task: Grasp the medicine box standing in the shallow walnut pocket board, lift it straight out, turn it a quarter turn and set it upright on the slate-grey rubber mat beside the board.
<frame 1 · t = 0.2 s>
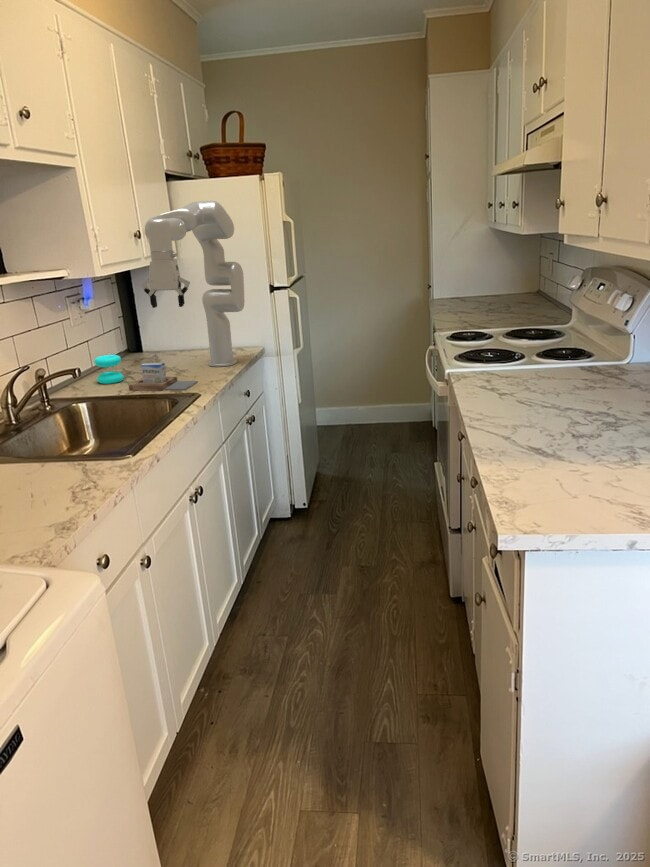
hand: (168, 306, 229), 31 cm above the countertop, fingers open, 9 cm apart
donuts: (111, 382, 258), on the countertop
medicine box: (155, 386, 248), resting in pocket board
pocket board: (153, 385, 247), on the countertop
slate mat: (181, 386, 245), on the countertop
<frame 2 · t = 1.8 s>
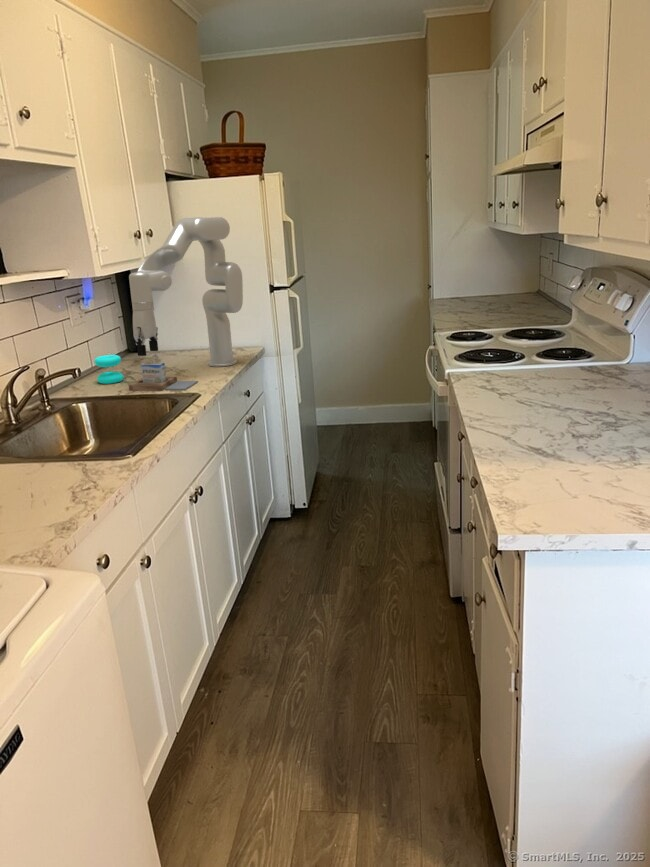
hand: (148, 353, 243), 13 cm above the countertop, fingers open, 9 cm apart
nothing on the countertop moved.
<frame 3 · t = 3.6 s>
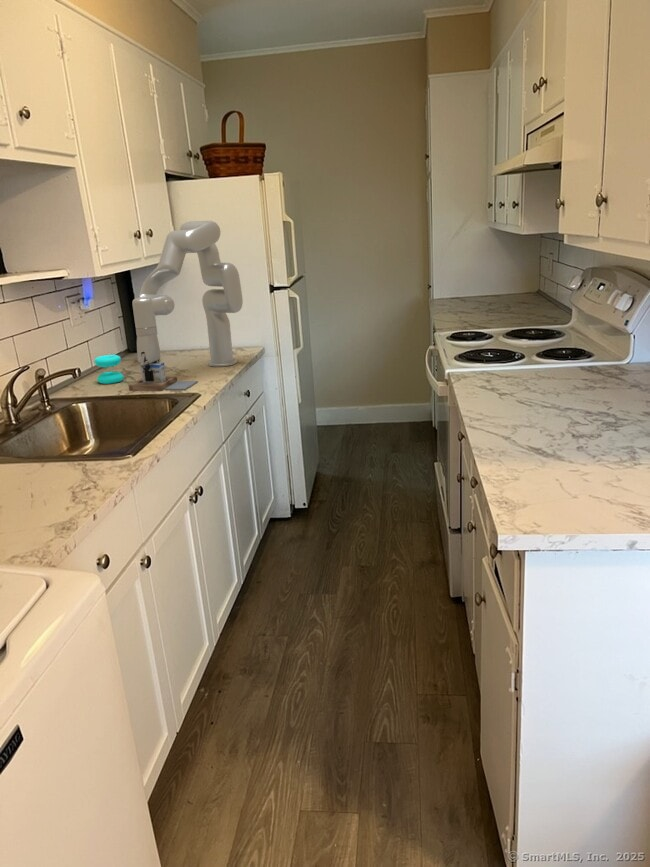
hand: (153, 378, 247), 3 cm above the countertop, fingers closed on medicine box, 4 cm apart
medicine box: (155, 386, 248), resting in pocket board, touching gripper
everything else where it was.
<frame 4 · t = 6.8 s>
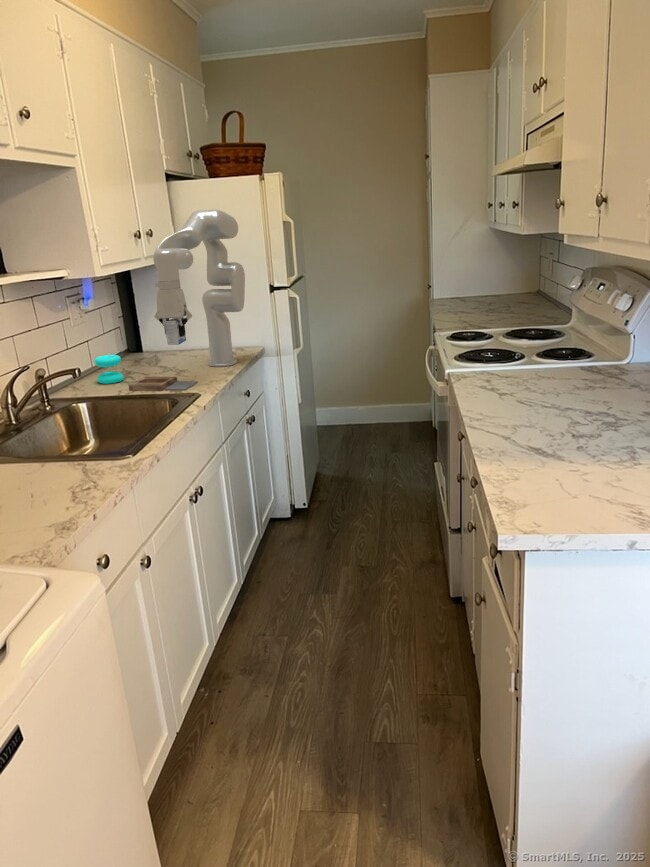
hand: (175, 335, 239), 19 cm above the countertop, fingers closed on medicine box, 4 cm apart
medicine box: (177, 343, 241), point 16 cm above the countertop, touching gripper
everything else where it was.
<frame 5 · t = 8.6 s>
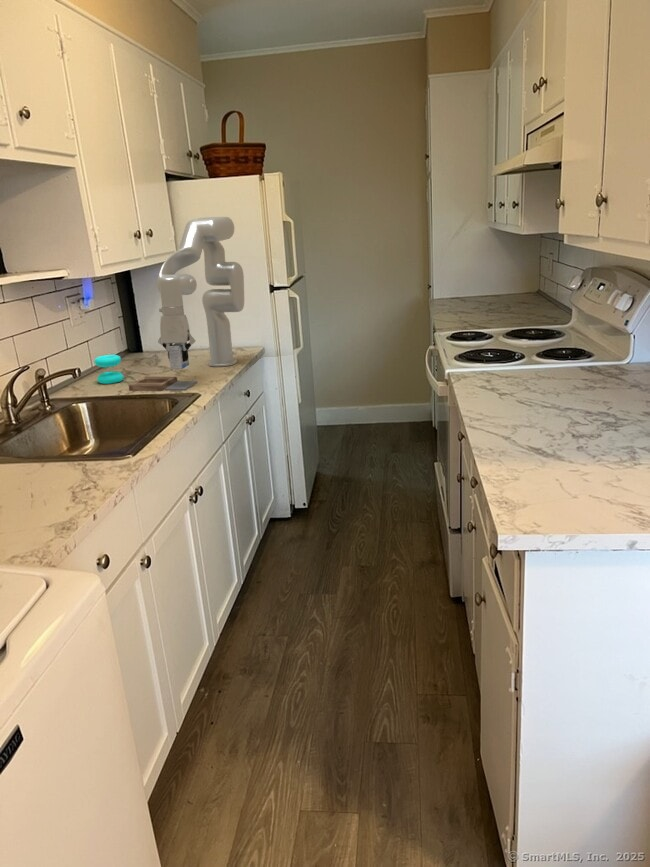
hand: (178, 360, 242), 10 cm above the countertop, fingers closed on medicine box, 4 cm apart
medicine box: (180, 367, 243), point 7 cm above the countertop, touching gripper
everything else where it was.
when the fingers open (5 cm above the countertop, at t = 10.0 s): medicine box drops 1 cm, resting on slate mat.
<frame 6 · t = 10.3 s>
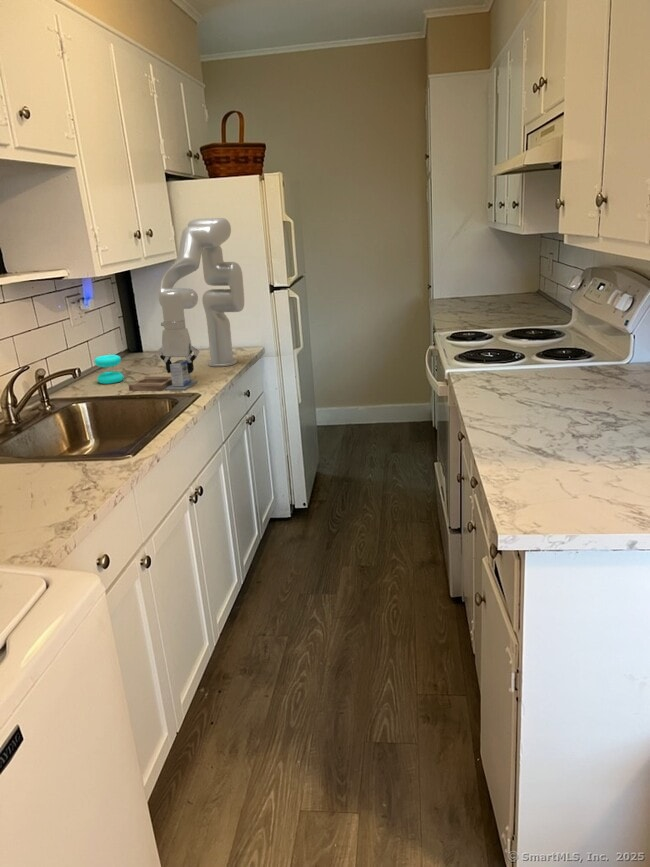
hand: (180, 372, 243), 5 cm above the countertop, fingers open, 7 cm apart
medicine box: (182, 384, 246), resting on slate mat
everything else where it was.
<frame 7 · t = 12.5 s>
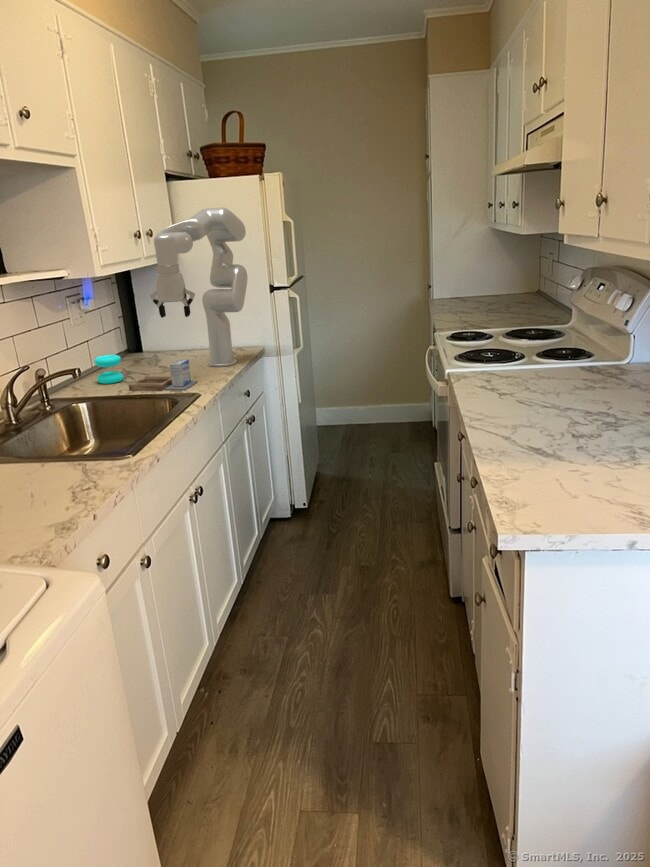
hand: (175, 316, 244), 25 cm above the countertop, fingers open, 9 cm apart
nothing on the countertop moved.
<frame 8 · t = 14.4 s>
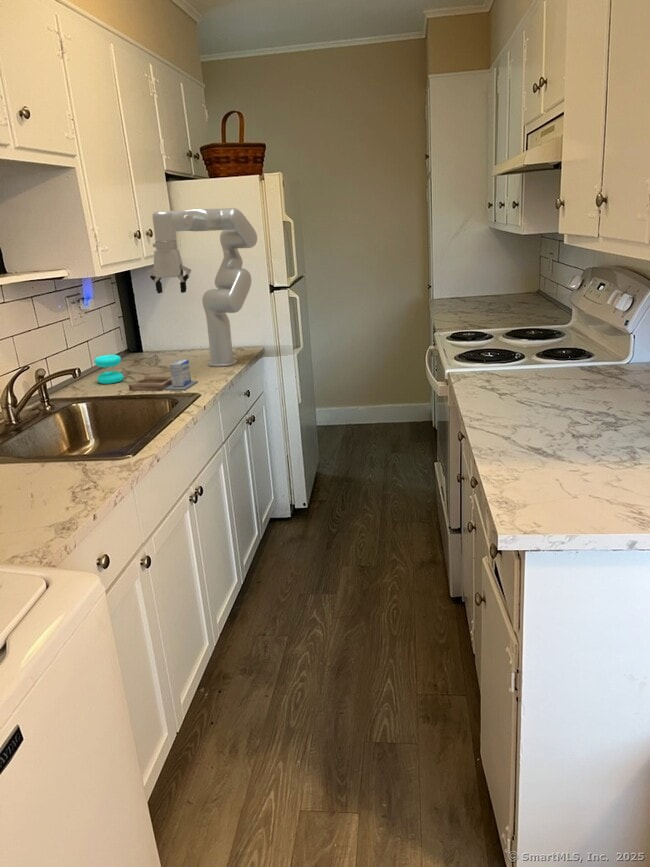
hand: (171, 292, 248), 33 cm above the countertop, fingers open, 9 cm apart
nothing on the countertop moved.
at the end: medicine box 0.7 cm off-centre on the slate mat, point 0.4 cm above the slate mat's base; medicine box tilted 0°; the gripper is holding nothing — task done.
